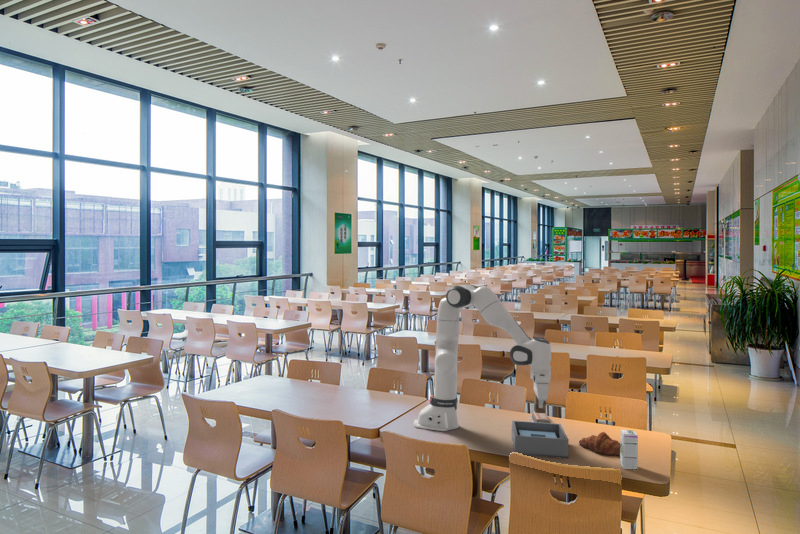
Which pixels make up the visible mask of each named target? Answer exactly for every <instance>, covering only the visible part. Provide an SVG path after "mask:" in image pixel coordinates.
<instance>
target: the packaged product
mask: <svg viewBox="0 0 800 534" xmlns="http://www.w3.org/2000/svg"><path fill="white" fill-rule="evenodd" d="M547 416H548V415H547V412H546V413H535V411H534V410H533V411H532V412H531V415H528V417H529V420H530V422H540V423H552V420H551V419H550V417H549V416H548V417H547Z"/></svg>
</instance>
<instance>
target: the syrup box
mask: <svg viewBox="0 0 800 534" xmlns="http://www.w3.org/2000/svg"><path fill="white" fill-rule="evenodd" d="M619 443H620V456H619V466H621V468H622V469H623V470H626V469H637V470H638V466H639V464H638V463H639V460H638V457H639V456H638V455H639V449H638V448H639V434H637V432H636V431H635V430H631V429H620V440H619Z"/></svg>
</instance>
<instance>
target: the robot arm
mask: <svg viewBox="0 0 800 534" xmlns="http://www.w3.org/2000/svg"><path fill="white" fill-rule="evenodd" d="M445 296H446V297H443V298H441V299H440V301H439V304H438V308H437V317H436V332H435V334H436V338H435V339H436V341H435V345H436V347H435V356H434V388H433V389H434V393H433V394H434V395H433V394H432V395H430V396H429V404H428V405H425V407H423V408H422V409H421V410H420V411H419V412H418V417H417V418H415V419H414V421H413V427H414V428H417V429H422V430H423V429H424V430H431V431H439V432H448V431H451V430H456V429H458V428H459V427H460V425H459V421H458V412H457V409H458V397H457V392H458V387H457V386H458V359H459V358H458V357H459V334H460V312H461V311H462V309H464V308H471V307H473V306H474V307H476V309H477V311H478V312H479V314H480V315H481V317H482V318H483V319H484V320H485V322H486V323H488V324H489V325H490V326H492V327H496V328H499V329H502V330H504V331H506V333H508V334H509V336H510V337H511V338H512V340H513V341H514V342H515V343H516V344H515V345H514V346H513V347H511V348H510V351H509V359H510V360H511V362H512V363H513V364H514V365H516V366H520V367H521V366H529V367H530V369H529V370H530V371H529V372H530V373H529V377H530V379H531V380H532V382H533V391H534V393H535V395H536V396H537V398H538V400H539V403H538V407H539V408H543V402H544V401H546V402H547V400H548V398H549V397H548V395H549V386H550V385H549V384H550V383H551V380H552V376H551V375H552V366H551V361H552V346H551V344H550V341H548V340H547V339H546V338H543V337H542V338H541V337H533V338H532V339H531V338H530V337H529V335H528V334H527V333H526V331H525V330H523V328H522V327H521V325H519V323H518V321H516V320H515V318H514V317H513V315H511V314H510V312H509V311H508V310H507V307H505V306H504V304H503V303H502V301H501V300H500V298H499V296H497V294H496V293H495V292H494V291H493V290H492V289H491V288H490V287H488V286H486V285H483V286H482V285H480V286H478V287H477V286H476V285H474V284H473V285H472V284H460V285H454V286H452V287H450V288H449V289H448V290H447V292H446V295H445Z"/></svg>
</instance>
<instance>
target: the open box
mask: <svg viewBox="0 0 800 534" xmlns="http://www.w3.org/2000/svg"><path fill="white" fill-rule="evenodd" d="M563 428H564V427H563V426H562V424H561V423H555V422H554V423H540V422H531V421H523V420H521V421H520V420H511V442H513V443H512V447H514V448H513V452H518V453H522V454H526V455H525V456H529V457H530V456H534V457H545V458H546V457H547V458H556V457H561V458H560V459H569V438H568V435H567V434H566V432H565V430H564V429H563Z"/></svg>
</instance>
